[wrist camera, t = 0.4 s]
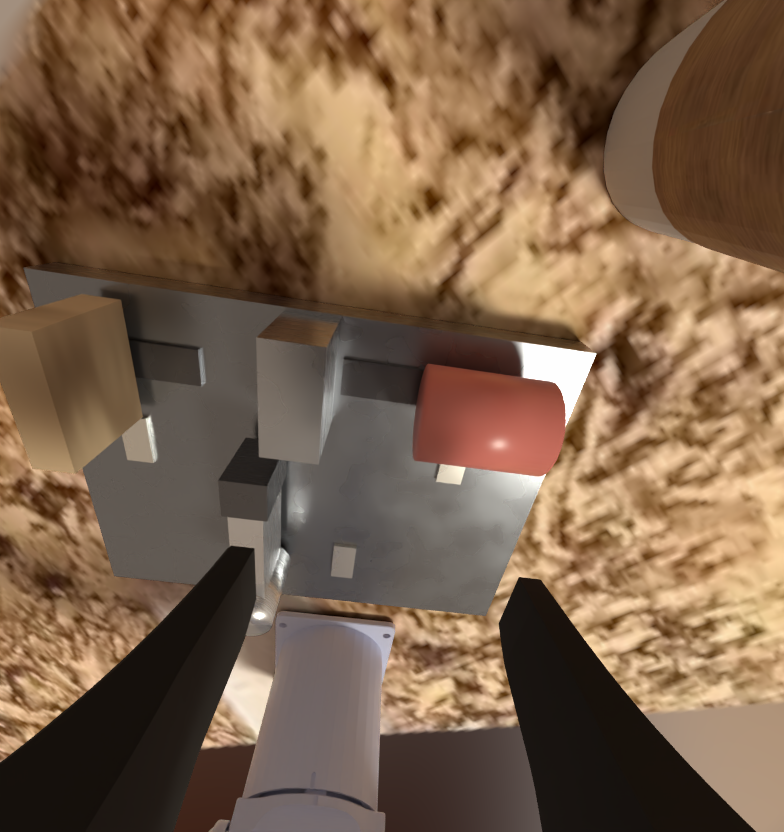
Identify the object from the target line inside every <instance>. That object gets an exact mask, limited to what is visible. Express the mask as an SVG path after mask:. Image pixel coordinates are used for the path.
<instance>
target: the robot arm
mask: <svg viewBox="0 0 784 832" xmlns="http://www.w3.org/2000/svg"><path fill="white" fill-rule="evenodd" d="M255 602H256V575H255V548H249V547H239V546H230V547H228V548H227V549H226V550H225V552H224V553H223V554H222V555H221V556H220V558H219V559H218V560H217V561H216V562H215V564H214V565H213V566H212V567H211V568H210V570H209V571H208V572H207V573H206V574H205V575H204V576H203V578H202V579H201V580H200V581H199V582H198V583H197V584H196V585H195V587H194V588H193V589H192V590H191V591H190V592H189V593H188V594H187V595H186V596H185V597H184V598H183V600H182V601H181V602H180V603H179V604H178V605H177V606H176V607H175V608H174V609H173V610H172V611H171V612H170V613H169V614H168V615H167V617H166V618H165V619H164V620H163V621H162V622H161V623H160V624H159V625H158V626H157V627H156V628H155V629H154V630H153V631H152V632H151V633H150V634H149V635H148V636H147V637H146V638H144V639H143V640H142V641H141V642H140V643H139V644H138V645H137V646H136V647H135V648H134V649H133V650H132V651H131V652H130V653H129V654H128V655H127V656H126V657H125V658H124V659H123V660H122V661H121V662H120V663H119V664H117V665H116V666H115V667H114V668H113V669H112V670H111V671H110V672H109V673H108V674H107V675H105V676H104V677H103V678H102V679H101V680H100V681H99V682H98V683H96V684H95V685H94V686H93V687H92V688H91V689H90V690H88V691H87V692H86V693H85V694H84V695H83V696H82V697H80V698H79V699H78V700H77V701H76V702H75V703H74V704H72V705H71V706H70V707H69V708H68V709H66V710H65V711H64V712H63V713H61V714H60V715H59V716H58V717H57V718H55V719H54V720H53V721H52V722H51V723H49V724H48V725H47V726H46V727H45V728H43V729H42V730H41V731H40V732H38V733H37V734H36V735H35V736H34V737H32V738H31V739H30V740H29V741H27V742H26V743H25V744H24V745H22V746H21V747H20V748H19V749H17V750H16V751H15V752H13V753H12V754H11V755H10V756H8V757H7V758H6V759H4V760H3V761H2V762H0V832H173V831H174V828H175V825H176V821H177V818H178V815H179V812H180V809H181V806H182V803H183V800H184V796H185V793H186V790H187V787H188V784H189V781H190V778H191V775H192V772H193V769H194V765H195V762H196V760H197V757H198V754H199V751H200V749H201V746H202V743H203V741H204V738H205V735H206V733H207V731H208V728H209V726H210V723H211V721H212V718H213V716H214V713H215V711H216V708H217V706H218V703H219V701H220V699H221V696H222V694H223V691H224V689H225V686H226V684H227V681H228V679H229V676H230V674H231V672H232V669H233V667H234V664H235V662H236V659H237V657H238V654H239V652H240V649H241V647H242V644H243V642H244V639H245V636H246V632H247V629H248V626H249V622H250V619H251V616H252V612H253V609H254V605H255ZM499 629H500V637H501V645H502V652H503V658H504V665H505V669H506V673H507V677H508V681H509V685H510V689H511V693H512V697H513V701H514V705H515V709H516V713H517V717H518V721H519V724H520V728H521V732H522V736H523V740H524V744H525V748H526V751H527V756H528V760H529V764H530V768H531V772H532V776H533V782H534V786H535V791H536V797H537V802H538V808H539V814H540V820H541V826H542V831H543V832H756V831H755V830H754V829H753V828H752V827H751V826H750V825H749V824H747V823H746V822H745V821H744V820H743V819H742V818H741V817H740V816H739V815H738V814H737V813H736V812H735V811H734V810H733V809H732V808H731V807H730V806H729V805H728V804H727V803H726V802H725V801H724V800H723V799H722V798H721V797H720V796H719V795H718V794H717V793H716V792H715V791H714V790H713V789H712V788H711V787H710V786H709V785H708V784H707V783H706V782H705V781H704V779H702V777H701V776H700V775H699V774H698V773H697V772H696V771H695V770H694V769H693V768H692V767H691V766H690V765H689V764H688V763H687V762H686V761H685V760H684V758H683V757H682V756H681V755H680V754H679V753H678V752H677V751H676V750H675V749H674V748H673V746H672V745H671V744H670V743H669V742H668V741H667V740H666V739H665V738H664V737H663V735H662V734H660V732H659V731H658V730H657V729H656V728H655V727H654V725H653V724H652V723H651V722H650V721H649V720H648V719H647V718H646V716H645V715H644V714H643V713H642V712H641V710H640V709H639V708H638V707H637V706H636V704H635V703H634V702H633V701H632V700H631V698H630V697H629V696H628V695H627V694H626V692H625V691H624V690H623V689H622V688H621V686H620V685H619V684H618V683H617V681H616V680H615V679H614V678H613V676H612V675H611V674H610V673H609V671H608V670H607V669H606V667H605V666H604V665H603V664H602V662H601V661H600V660H599V658H598V657H597V656H596V654H595V653H594V652H593V651H592V649H591V648H590V647H589V645H588V644H587V643H586V641H585V640H584V639H583V637H582V636H581V635H580V633H579V632H578V631H577V629H576V628H575V626H574V625H573V624H572V622H571V621H570V620H569V618H568V617H567V615H566V614H565V613H564V611H563V610H562V609H561V607H560V606H559V604H558V603H557V602H556V600H555V599H554V597H553V596H552V595H551V593H550V592H549V591H548V589H547V588H546V586H545V585H544V584H543V582H542V581H541V580H539V579H530V578H521V577H519V578H518V581H517V583H516V585H515V588H514V590H513V592H512V594H511V597H510V599H509V601H508V604H507V606H506V608H505V610H504V613H503V615H502V617H501V620H500V622H499ZM394 634H395V625H394V624H393V623H391V622H385V621H375V620H366V619H356V618H346V617H337V616H327V615H318V614H308V613H299V612H289V611H281V612H278V613H277V616H276V626H275V675H274V678H273V682H272V686H271V690H270V694H269V697H268V701H267V705H266V709H265V713H264V717H263V720H262V724H261V728H260V732H259V736H258V740H257V743H256V747H255V751H254V755H253V759H252V763H251V766H250V770H249V774H248V778H247V782H246V785H245V789H244V793H243V797H242V798H238V799H237V802H236V806H235V810H234V813H233V817H232V821H231V824H230V821H228V820H219V821H218V822H217V823H216V824H215V826H214V828H212V829H211V830H210V831H209V832H385V814H384V813H382V812H377V799H378V798H377V797H378V769H379V741H380V713H381V686H382V682H383V678H384V674H385V670H386V666H387V662H388V658H389V654H390V650H391V646H392V642H393V638H394Z"/></svg>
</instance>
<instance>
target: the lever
mask: <svg viewBox="0 0 784 832" xmlns="http://www.w3.org/2000/svg"><path fill="white" fill-rule="evenodd" d="M286 469H287V461H286V460H278V459H270V458H262V457H259V439H254V438H245V439H244V441H243V442H242V444H241V446H240V447H239V449H238V450H237V452H236V453H235V455H234V456H233V458H232V459H231V461H230V463H229V464H228V466H227V467H226V469H225V470H224V472H223V473H222V475H221V477H220V478H219V480H218V486H219V498H220V509H221V516H222V517H227V518H228V531H229V544H230V546H239V547H249V548H255V575H256V602H255V605H254V609H253V612H252V616H251V619H250V622H249V626H248V629H247V632H246V636H258V635H262V634H264V633H266V632H268V631H269V630H270V629H271V627H272V624H273V621H274V617H275V614H276V611H277V607H278V604H279V600H280V597H281V594H282V590H283V587H284V584H285V580H286V577H287V574H288V570H289V567H290V563H291V559H290V556H289V554H288V553H287V552H286V551H285V550H284V549H283V548H281V487H282V485H283V482H284V480H285V477H286Z"/></svg>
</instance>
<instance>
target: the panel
mask: <svg viewBox="0 0 784 832" xmlns="http://www.w3.org/2000/svg"><path fill="white" fill-rule="evenodd" d="M24 271H25V275H26V278H27V282H28V285H29V288H30V292H31V295H32V299H33V302H34V305H35V308H36V307H39V306H43V305H46V304H49V303H53V302H56V301H60V300H63V299H66V298H70V297H73V296H77V295H80V294H85V295H92V296H99V297H105V298H112V299H119V300H121V303H122V308H123V313H124V319H125V324H126V329H127V335H128V340H129V345H130V351H131V356H132V361H133V367H134V372H135V377H136V383H137V388H138V393H139V399H140V404H141V409H142V415H143V417H142V418H141V419H140V420H139V421H138V422H136V423H135V424H134V425H133V426H132V427H130V428H129V429H128V430H127V431H126V432H125V433H123V434H122V435H121V436H120V437H119V438H117V439H116V440H115V441H114V442H113V443H112V444H110V445H109V446H108V447H107V448H106V449H104V450H103V451H102V452H101V453H100V454H98V455H97V456H96V457H95V458H94V459H93V460H91V461H90V462H89V463H88V464H87V465H85V466H84V467H83V472H84V475H85V478H86V482H87V485H88V489H89V492H90V495H91V499H92V502H93V505H94V509H95V512H96V516H97V519H98V522H99V526H100V529H101V533H102V536H103V539H104V543H105V546H106V550H107V553H108V556H109V560H110V563H111V567H112V570H113V573H114V576H118V577H128V578H137V579H146V580H156V581H165V582H174V583H184V584H193V585H196V584H197V583H198V582H199V581H200V580H201V579H202V578H203V576H204V575H205V574H206V573H207V572H208V571H209V570H210V568H211V567H212V566H213V565H214V564H215V562H216V561H217V560H218V559H219V558H220V556H221V555H222V554H223V553H224V552H225V550H226V549H227V548H228V547H230V544H229V531H228V518H227V517H222V516H221V509H220V498H219V486H218V480H219V478H220V477H221V475H222V473H223V472H224V470H225V469H226V467H227V466H228V464H229V463H230V461H231V459H232V458H233V456H234V455H235V453H236V452H237V450H238V449H239V447H240V446H241V444H242V442H243V441H244V439H245V438H254V439H259V457H262V458H270V459H278V460H286V461H287V469H286V477H285V480H284V482H283V485H282V487H281V548H283V549H284V550H285V551H286V552H287V553H288V554H289V556H290V559H291V563H290V567H289V570H288V574H287V577H286V580H285V584H284V587H283V590H282V594H286V595H296V596H305V597H314V598H323V599H333V600H342V601H351V602H361V603H370V604H379V605H389V606H398V607H407V608H417V609H426V610H435V611H445V612H454V613H463V614H473V615H482V616H486V614H487V612H488V609H489V607H490V604H491V602H492V600H493V597H494V595H495V593H496V590H497V588H498V586H499V583H500V581H501V578H502V576H503V574H504V571H505V569H506V567H507V564H508V562H509V559H510V557H511V555H512V552H513V550H514V548H515V545H516V543H517V540H518V538H519V536H520V533H521V531H522V529H523V526H524V524H525V522H526V519H527V517H528V514H529V512H530V510H531V507H532V505H533V503H534V500H535V498H536V495H537V493H538V491H539V488H540V486H541V484H542V481H543V479H544V477H545V475H543V476H539V477H537V476H529V475H521V474H514V473H506V472H498V471H490V470H483V469H475V468H467V467H460V466H452V465H444V464H436V463H429V462H421V461H414V459H413V450H412V443H413V427H414V418H415V410H416V404H417V398H418V392H419V387H420V383H421V379H422V375H423V372H424V369H425V367H426V365H427V364H434V365H441V366H448V367H455V368H462V369H469V370H476V371H483V372H490V373H497V374H504V375H511V376H517V377H524V378H531V379H538V380H545V381H551V382H554V383H556V384H557V385H558V386H559V388H560V390H561V392H562V394H563V397H564V401H565V408H566V424H567V422H568V420H569V417H570V415H571V413H572V410H573V408H574V405H575V403H576V401H577V398H578V396H579V394H580V391H581V389H582V386H583V384H584V382H585V379H586V377H587V375H588V372H589V370H590V367H591V365H592V363H593V360H594V358H595V356H596V353H595V352H594V351H592V350H591V349H590V348H588V347H587V346H586V345H585V344H583V343H582V342H579V341H573V340H566V339H560V338H553V337H546V336H540V335H533V334H526V333H520V332H513V331H507V330H500V329H493V328H487V327H480V326H474V325H467V324H460V323H454V322H447V321H440V320H434V319H427V318H421V317H414V316H407V315H401V314H394V313H388V312H381V311H374V310H368V309H361V308H354V307H348V306H341V305H335V304H328V303H321V302H315V301H308V300H302V299H295V298H288V297H282V296H275V295H268V294H262V293H255V292H249V291H242V290H235V289H229V288H222V287H216V286H209V285H202V284H196V283H189V282H182V281H176V280H169V279H163V278H156V277H149V276H143V275H136V274H130V273H123V272H116V271H110V270H103V269H96V268H90V267H83V266H77V265H70V264H63V263H57V262H53V263H48V264H42V265H37V266H31V267H25V268H24Z"/></svg>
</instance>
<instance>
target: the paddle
mask: <svg viewBox="0 0 784 832" xmlns="http://www.w3.org/2000/svg"><path fill="white" fill-rule="evenodd" d="M0 383H1V385H2V388H3V391H4V393H5V396H6V399H7V401H8V404H9V407H10V410H11V412H12V415H13V418H14V420H15V423H16V426H17V428H18V431H19V434H20V436H21V439H22V442H23V444H24V447H25V450H26V453H27V455H28V458H29V461H30V463H31V466H32V469H38V470H47V471H55V472H63V473H71V474H76V473H77V472H78V471H80V470H81V469H82V468H83V467H84V466H85V465H87V464H88V463H89V462H90V461H91V460H93V459H94V458H95V457H96V456H97V455H98V454H100V453H101V452H102V451H103V450H104V449H106V448H107V447H108V446H109V445H110V444H112V443H113V442H114V441H115V440H116V439H117V438H119V437H120V436H121V435H122V434H123V433H125V432H126V431H127V430H128V429H129V428H130V427H132V426H133V425H134V424H135V423H136V422H138V421H139V420H140V419H141V418H142V417H143V415H142V409H141V404H140V399H139V393H138V388H137V383H136V377H135V372H134V367H133V361H132V356H131V351H130V345H129V340H128V335H127V329H126V324H125V319H124V313H123V308H122V303H121V300H119V299H112V298H105V297H99V296H92V295H85V294H80V295H77V296H73V297H70V298H66V299H63V300H60V301H56V302H53V303H49V304H46V305H43V306H39V307H36V308H32V309H29V310H26V311H22V312H19V313H15V314H12V315H9V316H5V317H2V318H0Z"/></svg>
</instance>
